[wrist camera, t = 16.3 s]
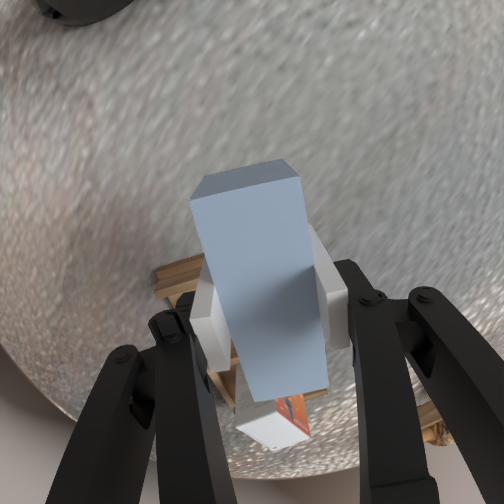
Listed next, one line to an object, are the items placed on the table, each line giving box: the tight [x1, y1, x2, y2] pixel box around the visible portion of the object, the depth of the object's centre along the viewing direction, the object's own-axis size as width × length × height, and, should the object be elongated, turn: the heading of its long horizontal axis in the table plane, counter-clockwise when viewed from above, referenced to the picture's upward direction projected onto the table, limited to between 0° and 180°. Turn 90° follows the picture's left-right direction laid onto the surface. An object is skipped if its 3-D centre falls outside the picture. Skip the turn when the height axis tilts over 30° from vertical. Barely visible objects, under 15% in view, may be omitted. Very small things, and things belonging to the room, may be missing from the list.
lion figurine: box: [421, 423, 454, 446], centre depth 47 cm, size 15×5×9 cm, turn 89°
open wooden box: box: [417, 401, 446, 430], centre depth 49 cm, size 8×17×5 cm, turn 108°
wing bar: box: [189, 159, 329, 402], centre depth 15 cm, size 4×11×5 cm, turn 12°
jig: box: [154, 253, 329, 414], centre depth 37 cm, size 25×15×4 cm, turn 18°
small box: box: [235, 363, 310, 451], centre depth 36 cm, size 8×6×10 cm
